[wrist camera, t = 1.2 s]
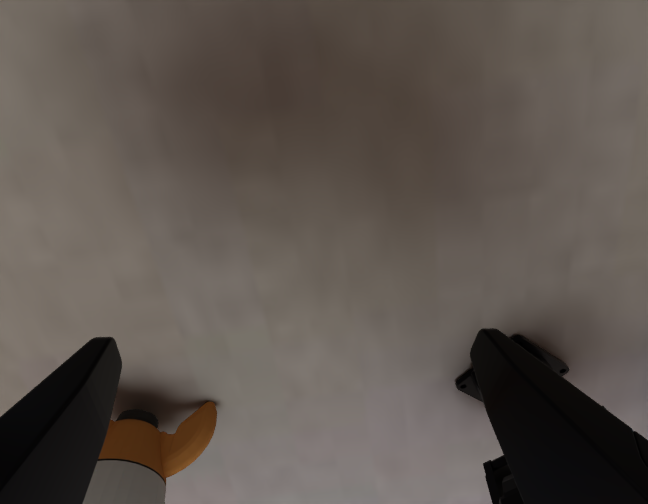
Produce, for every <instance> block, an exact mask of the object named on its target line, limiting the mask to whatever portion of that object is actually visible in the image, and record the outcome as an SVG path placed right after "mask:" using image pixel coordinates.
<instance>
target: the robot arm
mask: <svg viewBox="0 0 648 504" xmlns="http://www.w3.org/2000/svg"><path fill="white" fill-rule="evenodd" d="M470 357H471V361H472V365H473V368H472V369H471V370H470V371H469V372H467V373H466V374H465V375H463V376H462V377H461V378H460V379H458V380H457V381H456V383H455V384H456V386H457V389H458V390H460V391H462V392H464V393H466V394H468V395H470V396H472V397H474V398H476V399H478V400H480V401H482V402H483V403H484V405H485V408H486V411H487V414H488V417H489V419H490V422H491V424H492V427H493V429H494V432H495V434H496V436H497V439H498V441H499V444H500V446H501V449H502V451H503V453H504V455H503V456H501V457H499V458H497V459H495V460H493V461H491V460H489V461H487V462H485V463H483V466H484V469H485V473H486V476H485V477H486V481H487V485H488V488H489V492H490V496H491V499H492V503H493V504H648V440H647V439H645V438H644V437H643V436H641V435H640V434H639V433H637V432H636V431H633V430H632V428H630V427H629V426H628V425H626V424H625V423H624V422H622V421H621V420H620V419H618V418H617V417H615V416H614V415H613V414H611V413H610V412H609V411H607V410H606V408H605V407H604V406H601V405H599V404H598V403H597V402H595V401H594V400H593V399H591V398H590V397H588V396H587V395H586V394H584V393H583V392H582V391H580V390H579V389H578V388H576V387H575V386H574V385H572V384H571V383H570V382H568V381H567V380H565V379H564V378H563V377H562V376H563V375H565V374H566V373H567V372H568V371H569V368H568V366H567V365H566V364H565V363H564V362H562V361H561V360H559V359H558V358H556V357H555V356H553V355H551V354H550V353H548V352H547V351H545V350H543V349H542V348H540V347H539V346H537V345H536V344H534V343H532V342H531V341H529V340H528V339H526V338H525V337H523V336H521V335H517V336H514V337H513V338H511V339H510V338H509V337H507V336H506V335H505V334H503V333H502V332H501V331H499V330H497V329H494V328H492V329H481V330H480V331H479V332H478V334H477V336H476V339H475V341H474V343H473V345H472V348H471V351H470ZM121 369H122V361H121V357H120V354H119V351H118V348H117V345H116V342H115V339H114V338H112V337H96V338H93V339H91V340H90V341H89V342H87V343H86V344H85V345H84V346H83V347H82V348H80V349H79V350H78V351H77V352H76V353H75V354H73V355H72V356H71V357H70V358H69V359H68V360H66V361H65V362H64V363H63V364H62V365H61V366H59V367H58V368H57V369H56V370H55V371H54V372H52V373H51V374H50V375H49V376H48V377H47V378H45V379H44V380H43V381H42V382H41V383H40V384H38V385H37V386H36V387H35V388H34V389H33V390H31V391H30V392H29V393H28V394H27V395H26V396H24V397H23V398H22V399H21V400H20V401H18V402H17V403H16V404H15V405H14V406H13V407H11V408H10V409H9V410H8V411H7V412H6V413H4V414H3V415H2V416H1V417H0V504H83V501H84V498H85V496H86V493H87V490H88V487H89V484H90V481H91V478H92V475H93V473H94V470H95V467H96V464H97V461H98V458H99V455H100V453H101V450H102V447H103V444H104V441H105V438H106V434H107V431H108V427H109V423H110V418H111V414H112V410H113V405H114V401H115V396H116V392H117V387H118V383H119V379H120V374H121Z"/></svg>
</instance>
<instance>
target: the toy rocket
mask: <svg viewBox="0 0 648 504" xmlns="http://www.w3.org/2000/svg"><path fill="white" fill-rule="evenodd" d="M216 418H217V411H216V407H215V404H214V403H213V402H209V401H208V402H206V403H205V404H204V405H203V406H202V407H200V408H199V409H198V410H197V411H196V412H194V413H193V414H192V415H191V416H189V417H188V418H187V419H186V420H185V421H183V422H182V423H181V424H180V426H179V427H178V429H177V431H176V433H175V434H167V433H166V432H159V430H158V429H157V427H158V419H157V418H156V417H155V416H154V415H153V414H152V413H150V412H147V411H144V410H138V409H133V410H127V411H124V412H122V413H121V414H120V415H119V417H118V418H117V420H116V421H115V422H114V421H113V420H110V423H109V427H108V431H107V434H106V438H105V441H104V444H103V447H102V450H101V453H100V455H99V458H98V461H97V464H96V467H95V470H94V473H93V475H92V478H91V481H90V484H89V487H88V490H87V493H86V496H85V498H84V501H83V504H165V502H164V501H165V493H166V478H167V477H169V476H172V475H174V474H176V473H177V472H179V471H181V470H183V469H184V468H186V467H187V466H188V465H190V464H191V463H192V462H194V461H195V460H196V459H197V458H198V457H199V456H200V455H201V453H202V452H203V451H204V449H205V448H206V447H207V445H208V444H209V442H210V440H211V438H212V436H213V433H214V430H215V426H216Z"/></svg>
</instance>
